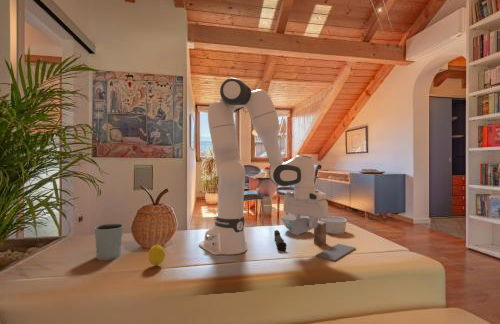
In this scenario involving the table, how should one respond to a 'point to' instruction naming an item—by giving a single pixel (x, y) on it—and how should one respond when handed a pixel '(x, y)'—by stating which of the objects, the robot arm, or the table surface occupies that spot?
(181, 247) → the table surface
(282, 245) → the hand tool
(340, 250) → the tool mat
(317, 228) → the walnut block
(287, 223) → the chinaware
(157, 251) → the lemon
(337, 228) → the ramekin
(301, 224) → the bar
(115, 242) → the blue-grey cup
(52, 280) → the table surface
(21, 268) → the table surface
